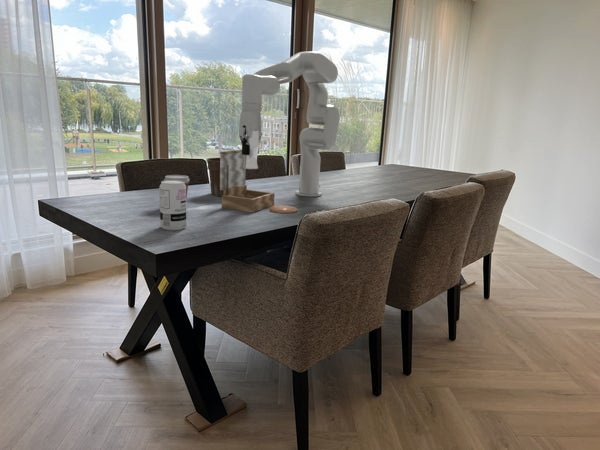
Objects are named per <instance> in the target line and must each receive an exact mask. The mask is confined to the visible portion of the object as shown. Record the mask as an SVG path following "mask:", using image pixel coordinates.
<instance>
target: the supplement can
mask: <svg viewBox="0 0 600 450" xmlns="http://www.w3.org/2000/svg"><path fill="white" fill-rule="evenodd" d="M160 182H161V183H160V185H159V217H160V218H159V220H160V221H159V222H160V227H161V229H163V230H166V231H181V230H184V229H185V227H187V199H186V185H185V184H184V182H183V181H178V180H166V181H164V180H162V181H160Z"/></svg>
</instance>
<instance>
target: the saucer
mask: <svg viewBox="0 0 600 450" xmlns="http://www.w3.org/2000/svg"><path fill="white" fill-rule="evenodd" d="M269 210H270V212H272V213H277V214H294V213H297V212H298V207H296V206H291V205H280V204H279V205H272V206H269Z"/></svg>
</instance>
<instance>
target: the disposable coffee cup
mask: <svg viewBox="0 0 600 450" xmlns="http://www.w3.org/2000/svg"><path fill="white" fill-rule="evenodd" d="M166 180H178V181H183V182H184V184H185V185H186V200H187V197H188V189H189V183H190V178H189V176H188V175H181V174H168V175H165V177H164V179H163V181H166Z"/></svg>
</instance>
